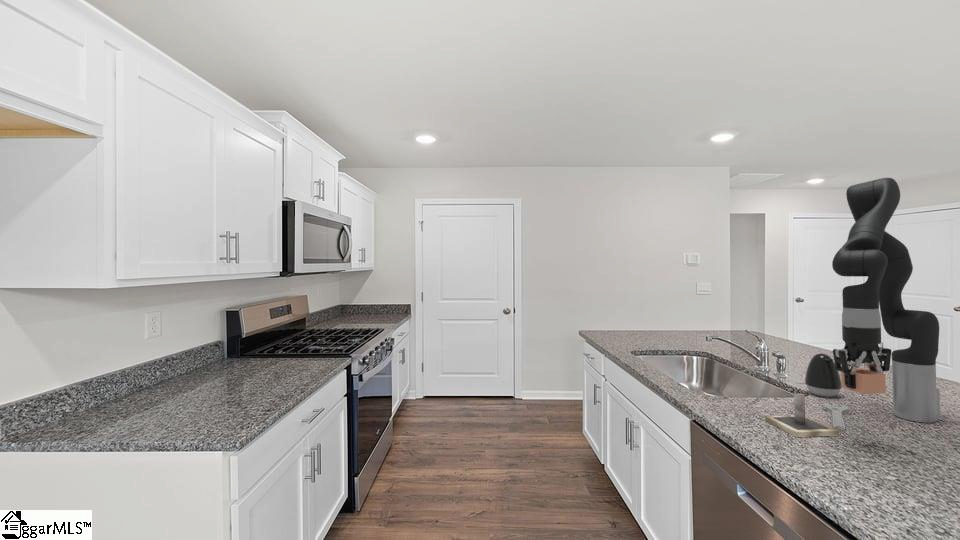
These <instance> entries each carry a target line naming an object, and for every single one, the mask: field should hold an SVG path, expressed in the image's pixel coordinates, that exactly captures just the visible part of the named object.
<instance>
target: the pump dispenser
mask: <svg viewBox="0 0 960 540" xmlns="http://www.w3.org/2000/svg"><path fill="white" fill-rule="evenodd" d="M839 372H840V371H837V370H836V367H835V361H834V358H832V357H831V356H830V355H828V354H826V353H816V354H815V355H813V356H812V358H811V359H810V360H809V363H808V366H807V368H806V373H805V377H804V383H805V385H806V388H807V389H808V391H809V392H810V393H811V394H813V395H815V396H819V397H822V398H824V397H825V398H833V397H836V396H837V395H838V394H839V393H840V391H841V389H842V384H841V376H840V375H841V374H840V373H839Z"/></svg>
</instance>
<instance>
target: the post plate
mask: <svg viewBox="0 0 960 540" xmlns="http://www.w3.org/2000/svg"><path fill="white" fill-rule="evenodd" d="M793 396H794V397H793V399H794V400H793V401H794V402H793V403H794V415H793V414H791V415H768V416H767V415H765V416H764V421H765V422H766V423H768V424H769V425H772V426H774V427H775V428H777V427H778V428H777V429H779V428H780V430H781V429H782V431H783V432H786V433H787V434H789V435H791V436H793V437H794V438H797V437H799V438H815V437H814V436H829V437H839V436H840V432H839V431H838V430H836V429H834V428H833V427H831V426H829V425H827V424H825V423H823V422H820V421H817V420H815V419H813V418H811V417H809V416H807V415H806V402H805V401H806V398H805V394H804V393H800V392H799V393H798V392H797V393H796V392H795V393H794V395H793Z"/></svg>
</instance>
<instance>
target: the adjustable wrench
mask: <svg viewBox="0 0 960 540" xmlns="http://www.w3.org/2000/svg"><path fill="white" fill-rule="evenodd" d="M822 409H823V411H825V410H826V412H828V411H829V412H828V413H830V412H831V413H830V414H831V415H832V428H834V429H836V430H838V431H839V433H841V432H844V433H846V425H845V423H844V418H843V415H845V414H848V413H850V407H848V406H847V405H844V404H841V403H838V406H833V405H832V404H830V403H825V402H824V403H823V405H822ZM822 409H821V410H822Z"/></svg>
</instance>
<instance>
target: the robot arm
mask: <svg viewBox="0 0 960 540" xmlns="http://www.w3.org/2000/svg"><path fill="white" fill-rule="evenodd" d="M845 195H846V200H847V203H848V204H847V205H848V207H849V209H850V212H851V214H852V216H853V217H852V218H853V219H854V221H855V222H854V223H853V225H852V226H851V228H850V230H849V233H848V237H847V241H846V242H845V243H844V244H843V245H842V246H841V248H839V249H838V251H837V252H836V253H835V255H834V257H833V258H832V262H831V264H832V265H831V266H832V269H833V271H834V272H835V273H836V274H837V275H838V276H841V277H847V278H848V277H867V280H866V281H865V282H863V283H860V284H853V285H847V286H845V287H843V288H842V294H841V295H842V296H841V297H842V313H841V327H842V328H841V329H842V331H841V332H842V335H841V336H842V341H843V342H844V347H843V348H841V349H837V348H833V349H832V354H833V361H834V363H835V367H836V370H837V371H838V372H840V373H841V372H843V373H844V379H845V380H844V381H845V385H846V387H848V388H851V389H855V388H856V375H854V374H855V373H856V370H857V369H859V368H861V366H862V364H865V366H867V368H868V370H871V371H875V372H879V373H883V372H889V371H890V369H891V375H892V376H891V379H892V380H891V381H892V383H891V384H892V385H891V387H892V388H891V389H892V414H893V416H895V417H898V418H899V419H900V418H901V419H903V420H908V421H912V422H917V423H919V422H920V423H927V424H928V423H931V424H932V423H937V422H938V421H941V399H940V396H941V394H940V389H939V388H938V387H937V368H936V367H937V364H936V363H937V359H938V358H937V357H938V354H939V342H940V341H939V340H940V339H939V338H940V323H939V319H938V317H937V316H936V315H935V314H934V313H933V312H931V311H925V310H918V309H917V310H915V309H905V307H904V304H903V299H902V293H903V290H904V288H905V286H906V285H907V283H908V281H909V280H910V278H911V275H912V274H913V269H914V267H913V263H912V260H911V258H912V257H911V256H910V252H909V249H908V248H907V246H906V245H905V244H904V243H903V242H902V241H901V240H900V239H898V238H896V237H895V236H893V235H892V234H890V233H889V232H887V230H886V228H887V226H888V223H889V222H890V220H891V219H892V217H893V215H894V213H895V211H896V209H897V207H898V206H899V205H900V201H901V190H900V187H899V184H898V183H897V181H896V180H895V179H894V178H892V177H882V178H877V179H874V180H870V181H865V182H859V183H856V184H853V185H850V186H848V188H847V189H846V194H845ZM882 325H883V329H884V330H885V332H886V334H888V335H889V336H890V337H892V338H897V339H903V340H909V341H910V346H909V347H907V348H903V349H895V350H893V351H892V349H890V348H886V347H880V346H879V345H880V344H882ZM890 367H891V368H890ZM883 374H884V373H883Z"/></svg>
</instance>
